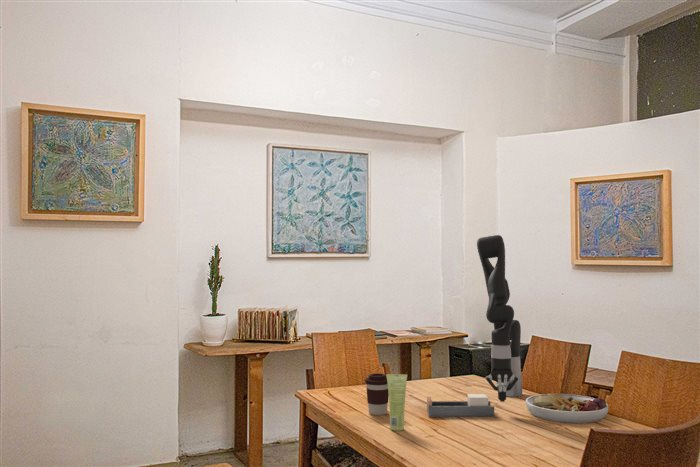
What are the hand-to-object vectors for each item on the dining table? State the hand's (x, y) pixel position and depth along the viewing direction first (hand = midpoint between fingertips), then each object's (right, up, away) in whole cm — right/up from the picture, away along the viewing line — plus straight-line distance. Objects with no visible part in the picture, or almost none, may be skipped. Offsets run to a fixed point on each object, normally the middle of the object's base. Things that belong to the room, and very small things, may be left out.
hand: (502, 401), depth 233 cm
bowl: (+25, -5, -1) cm, 25 cm away
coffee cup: (-48, -6, +4) cm, 49 cm away
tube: (-42, -5, -19) cm, 47 cm away
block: (-9, -4, 0) cm, 10 cm away
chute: (-16, -5, +1) cm, 17 cm away
